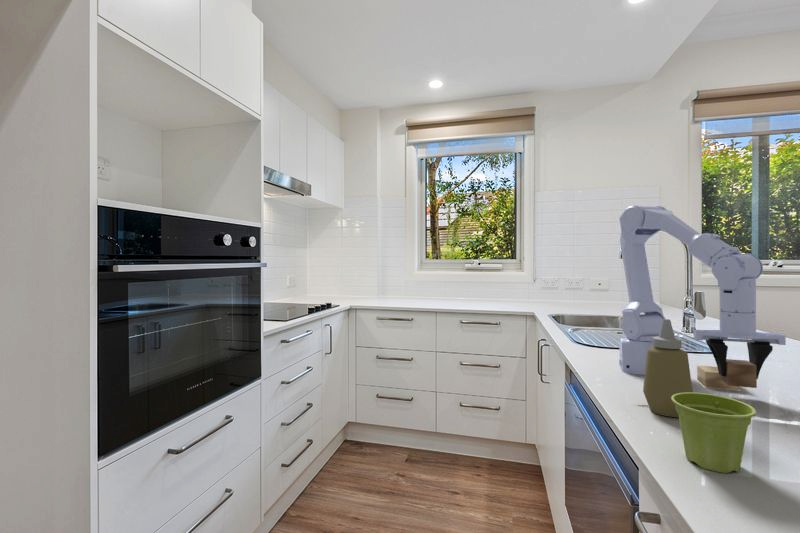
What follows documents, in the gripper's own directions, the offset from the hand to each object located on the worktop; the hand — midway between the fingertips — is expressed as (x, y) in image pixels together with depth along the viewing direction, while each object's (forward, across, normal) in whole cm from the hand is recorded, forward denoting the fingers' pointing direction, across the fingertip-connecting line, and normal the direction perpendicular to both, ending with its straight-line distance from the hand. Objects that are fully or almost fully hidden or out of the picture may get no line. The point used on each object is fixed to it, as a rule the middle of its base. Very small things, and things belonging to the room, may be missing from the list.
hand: (737, 376), depth 80 cm
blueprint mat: (+5, -1, +9) cm, 10 cm away
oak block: (+4, -1, +9) cm, 10 cm away
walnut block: (+2, 0, 0) cm, 2 cm away
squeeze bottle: (+5, -15, -13) cm, 21 cm away
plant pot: (+5, -14, -33) cm, 36 cm away
